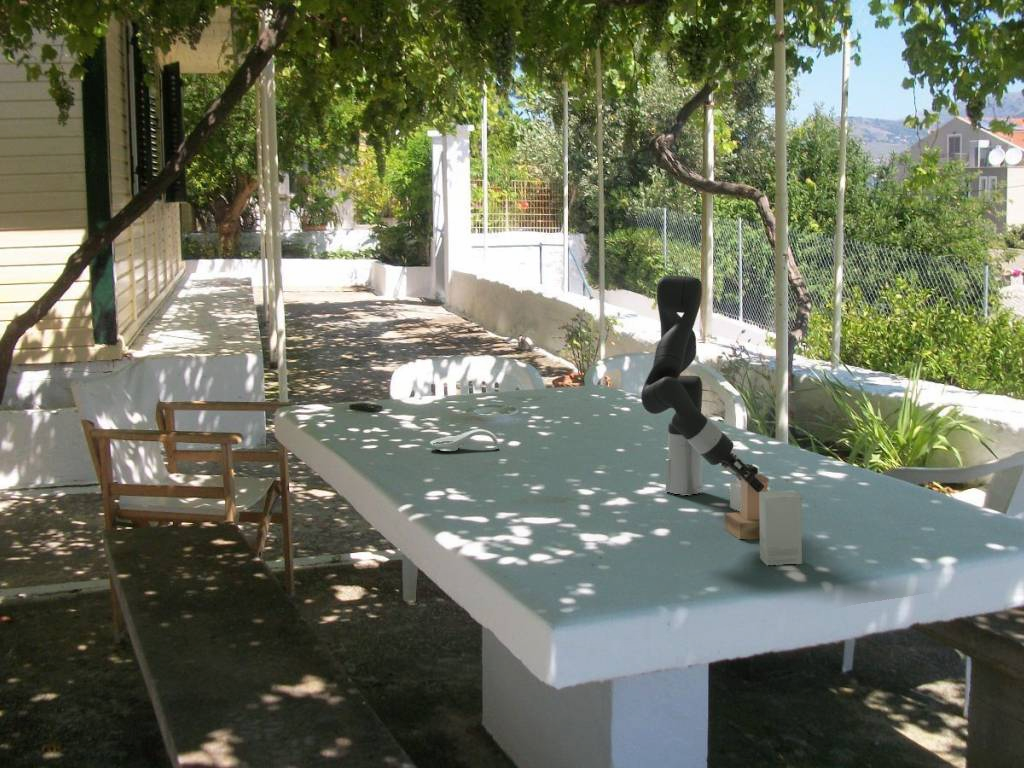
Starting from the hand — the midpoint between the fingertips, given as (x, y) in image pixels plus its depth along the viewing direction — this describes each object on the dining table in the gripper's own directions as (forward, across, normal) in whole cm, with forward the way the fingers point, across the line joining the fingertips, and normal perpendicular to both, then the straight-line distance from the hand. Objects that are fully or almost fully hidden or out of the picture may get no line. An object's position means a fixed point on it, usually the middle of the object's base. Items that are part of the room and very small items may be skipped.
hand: (754, 485), depth 289 cm
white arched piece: (-31, +132, +48) cm, 144 cm away
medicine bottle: (+13, +24, +4) cm, 28 cm away
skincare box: (+6, -26, +11) cm, 29 cm away
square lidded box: (+5, 0, +6) cm, 8 cm away
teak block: (+8, 0, +8) cm, 12 cm away
